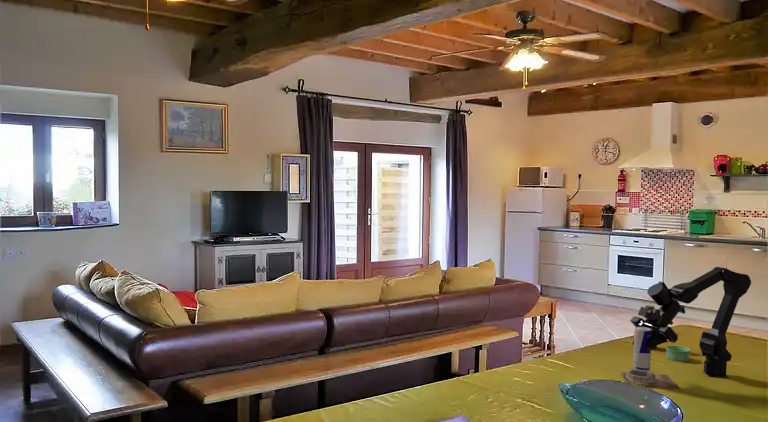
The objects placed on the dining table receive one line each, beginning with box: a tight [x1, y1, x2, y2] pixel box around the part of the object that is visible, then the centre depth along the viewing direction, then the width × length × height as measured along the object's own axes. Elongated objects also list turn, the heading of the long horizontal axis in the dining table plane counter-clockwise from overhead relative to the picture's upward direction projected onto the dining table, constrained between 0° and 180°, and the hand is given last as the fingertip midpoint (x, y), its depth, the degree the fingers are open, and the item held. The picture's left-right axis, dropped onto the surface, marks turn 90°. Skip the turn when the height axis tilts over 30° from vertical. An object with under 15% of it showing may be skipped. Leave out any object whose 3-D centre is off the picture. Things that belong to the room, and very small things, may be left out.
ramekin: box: [665, 345, 691, 363], centre depth 253 cm, size 9×9×4 cm
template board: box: [620, 368, 680, 390], centre depth 223 cm, size 16×13×3 cm
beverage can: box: [632, 326, 652, 372], centre depth 223 cm, size 6×6×15 cm
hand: (639, 346), depth 222 cm, fingers closed on beverage can, 5 cm apart
